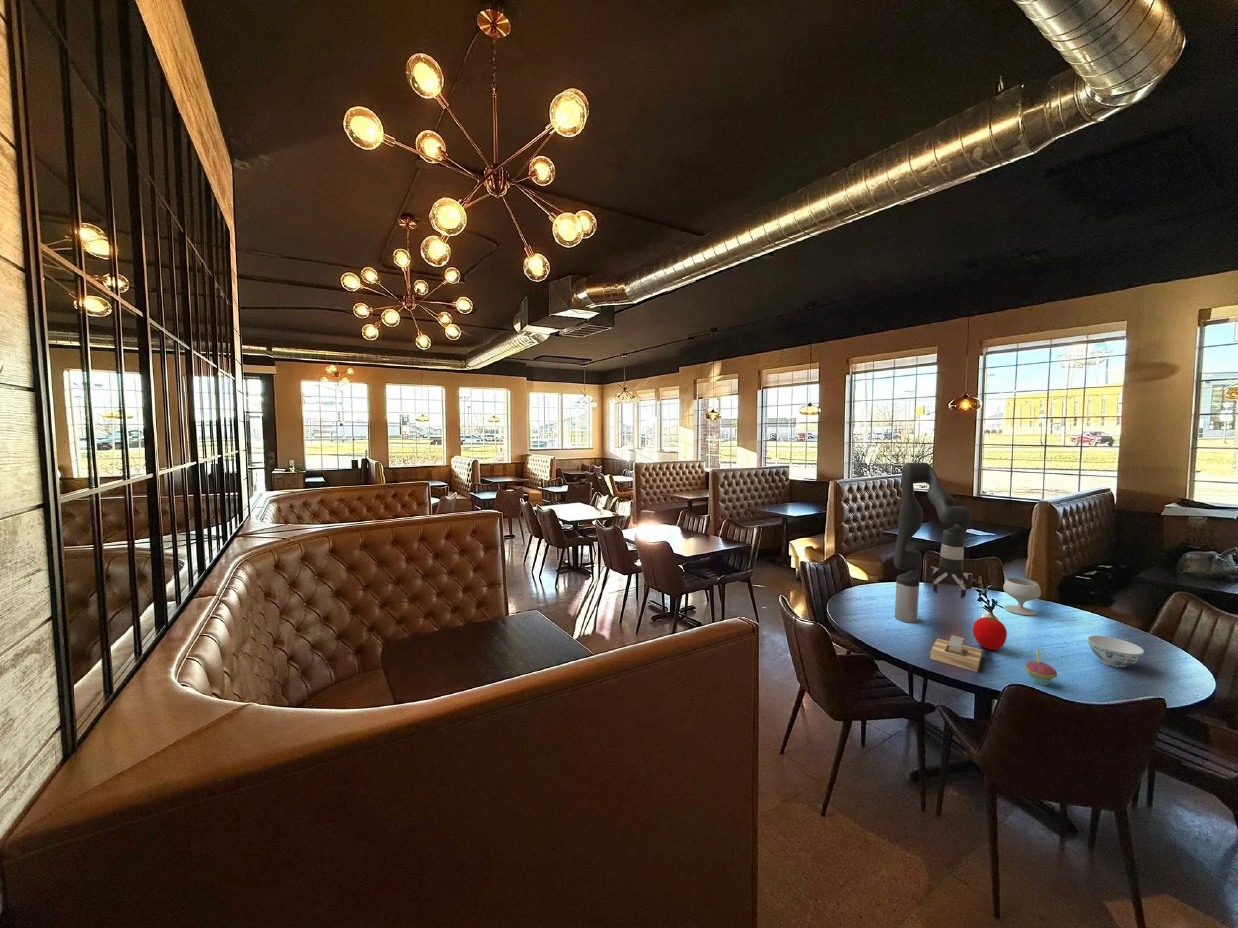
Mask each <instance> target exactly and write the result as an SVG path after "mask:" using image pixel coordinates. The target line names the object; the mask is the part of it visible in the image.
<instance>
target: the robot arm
mask: <svg viewBox="0 0 1238 928" xmlns="http://www.w3.org/2000/svg"><path fill="white" fill-rule="evenodd" d="M914 484H926V485H928V489H927V497H928V500H929V501H930V503H931V504H933V506H934V507H935V510H936V512H937V515H938V516H937V517H938V519H939V521H940V522H942V523H943V524H945V525H954V526H953V527H950V528H947V529H943V531H942V537H941V538H942V539H941V546H940V552H939V555H940V556H939V566H938V567H935V566H934V565H931V566H930V567H929V572H928V579H927V580H928V582H930V583H932V584H933V586H932V587H933V588H932V591H933V592H934V594H938V593H939V582H941V581H942V580H944V581H948V582H952V583H955V582H956V584H958V586H959V587H960V588H961V591H960V599H965V598H966V595H967V590H972V588H973V573H972V572H969V573H968V572H964V571H963V569H964V568H963V567H964V555H965V554H964V553H965V550H964V545H965V544H964V543H965V535H966V534H967V530H968V528H969V527H970V524H971V522H972V519H973V518H972V512H971V510H970V508H969V507H967V506H964V505H962V506H961V505H959V506H958V505H957V506H956V500H954V498H953V497H952V496H951V494H950V493H949V492H948V491H947V490H946V489H945V488H944V486H943V484H942V483H941V481H940V479H939V477H938V475H937V473H936V472H935V470H934V468H933V467H932V465H931V464H929V463H928V462H906V463H905V464H903V467H902V470H901V497H900V506H899V512H898V524H897V525H898V527H897V537H896V543H895V548H894V554H893V564H894V567H895V568H896V569H898V570H905V571H906V570H907V572H905V573H902V574H898V575H897V576H896V581H895V583H896V585H895V601H894V618H895V619H896V620H897V621H900V622H903V623H917V622H918V612H919V597H920V595H919V594H920V580H921V573H922V567H923V566H922V564H923V557H922V556H923V555H922V553H921V552H920V551H919V550H916V549H915V550H913V549H906V548H907V544H908V542H910V540H911V539H912V538H913V536H914V535H916V534H917V533H918V531H919V530H920V529H921V528H922V525H923V518H924V511H923V508H922V506H921V504H920V503H919V501H918V500H917V498H916V496H915V493H914ZM936 572H938V574H939V576H938V577H937V578H934V573H936ZM962 577H965V579H966V580H967V584H965V583H964V581H963V579H962Z"/></svg>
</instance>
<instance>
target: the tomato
mask: <svg viewBox="0 0 1238 928" xmlns="http://www.w3.org/2000/svg"><path fill="white" fill-rule="evenodd" d="M972 633H973V634H972V635H973V638H974V639H975V641H976V642H977V644H979V646H981V647H982V648H984V649H987V650H989V651H991V650H992V651H996V650H999V649H1001V648H1002V647H1003V646H1004V645H1005V643H1006V640H1007V637H1008V632H1007V628H1006V626H1005V625H1004V623H1002V621H1001V620H998V619H997V618H995V617H986V616H984V617H980V618H978V619H977V620H976V621H974V623H973V626H972Z"/></svg>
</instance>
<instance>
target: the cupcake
mask: <svg viewBox="0 0 1238 928" xmlns="http://www.w3.org/2000/svg"><path fill="white" fill-rule="evenodd" d="M1035 651H1036V660H1031V661H1028V662H1026V663H1025V667H1024V669H1025V670H1026V672H1027V673H1028V676H1029V679H1030V681H1031V682H1033V683H1034V684H1036V685H1039V686H1049V684H1050V682H1051V681H1052V679H1055V678H1057V676H1058V672H1057V671H1056V669H1055V668H1054V667H1053V666H1051V665H1050V664H1048V663H1045V662H1042V661H1040V650H1039V649H1038V647H1036V649H1035Z"/></svg>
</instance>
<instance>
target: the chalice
mask: <svg viewBox="0 0 1238 928" xmlns="http://www.w3.org/2000/svg"><path fill="white" fill-rule="evenodd" d="M1002 589H1003V591H1004V592H1005V594H1007V595H1008V596H1010V597H1011V598H1013V599H1014V600H1015V601H1016V602H1017V605H1014V604H1013V605H1009V604H1007V605H1005V606H1004V609H1005V610H1006V611H1008V612H1010V613H1013V614H1017V615H1021V616H1028V617H1029V616H1030V617H1032V616H1036V615H1037V612H1036V611H1035V610H1033V609H1031V608H1028V607H1024V604H1025V603H1026V602H1030V601H1034V600H1038V599H1039V598H1040V597H1041V594H1042V591H1041V586H1040V585H1039V584H1038V582H1037V581H1033V580H1030V579H1027V578H1021V577H1008V578H1007V579H1006V580H1005V581H1004V584H1003V588H1002Z"/></svg>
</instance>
